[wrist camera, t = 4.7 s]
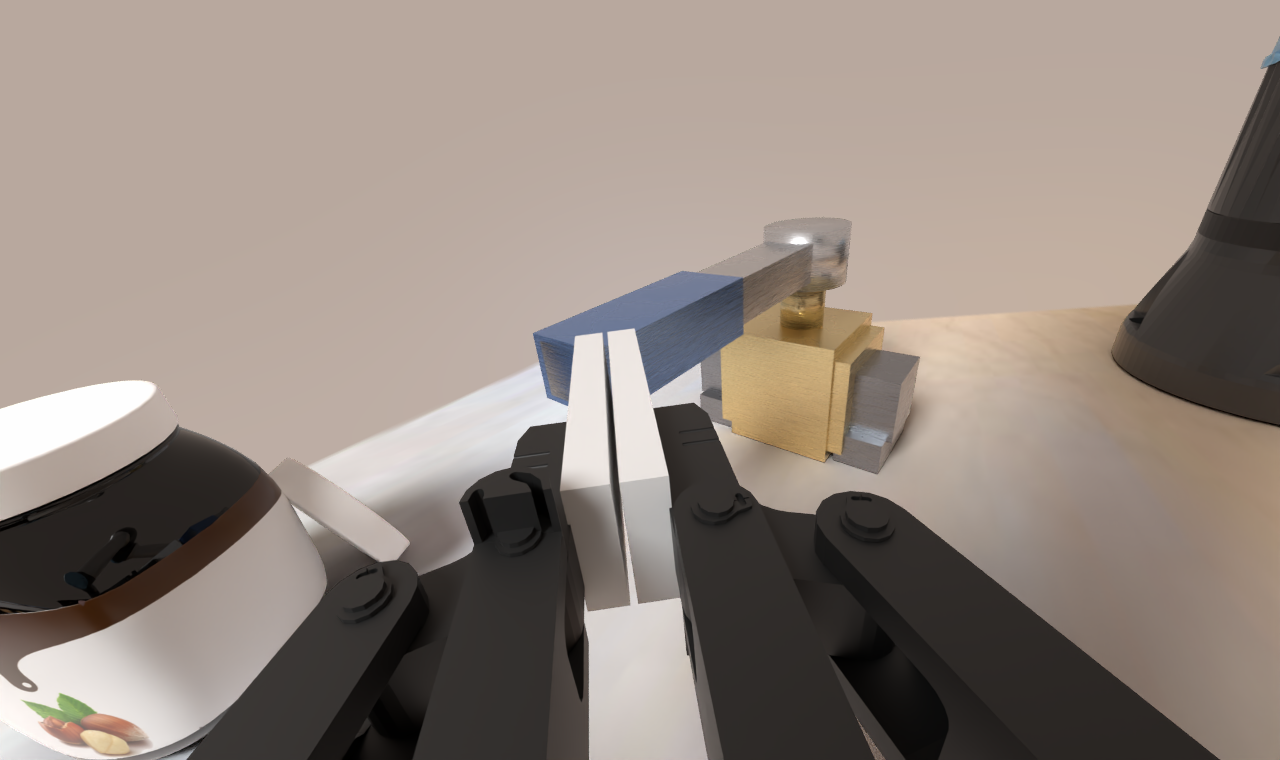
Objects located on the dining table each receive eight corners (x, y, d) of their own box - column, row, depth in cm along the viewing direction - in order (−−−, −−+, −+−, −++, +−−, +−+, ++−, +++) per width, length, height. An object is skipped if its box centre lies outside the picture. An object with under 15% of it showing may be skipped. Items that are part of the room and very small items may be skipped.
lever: (858, 273, 26) (864, 218, 25) (625, 437, 14) (611, 345, 13) (785, 267, 29) (786, 217, 28) (536, 399, 17) (518, 321, 15)
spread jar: (-9, 766, 17) (-354, 523, 11) (255, 531, 27) (134, 343, 21) (284, 794, 15) (34, 523, 10) (449, 531, 25) (369, 328, 20)
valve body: (910, 427, 29) (938, 277, 24) (880, 481, 25) (907, 313, 21) (737, 383, 36) (736, 262, 32) (693, 419, 32) (685, 286, 28)
